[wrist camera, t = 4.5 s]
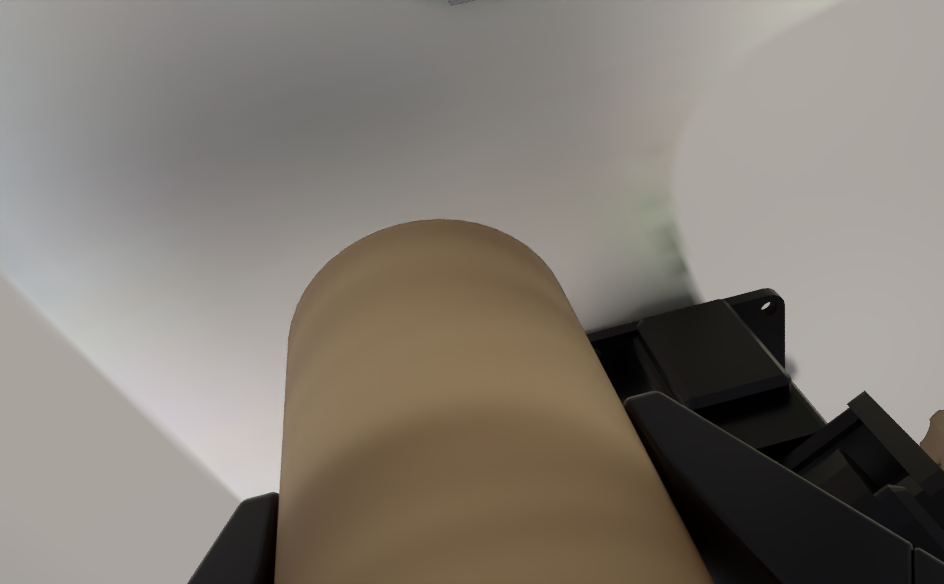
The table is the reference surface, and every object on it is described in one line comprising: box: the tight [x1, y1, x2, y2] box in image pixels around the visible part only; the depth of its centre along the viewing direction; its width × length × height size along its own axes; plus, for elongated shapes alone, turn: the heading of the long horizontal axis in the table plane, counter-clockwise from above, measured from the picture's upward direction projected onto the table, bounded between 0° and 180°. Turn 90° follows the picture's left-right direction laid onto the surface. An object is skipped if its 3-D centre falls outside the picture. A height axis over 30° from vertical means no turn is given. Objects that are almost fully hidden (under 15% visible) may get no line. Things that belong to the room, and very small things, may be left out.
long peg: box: [274, 219, 715, 584], centre depth 8 cm, size 4×4×8 cm
